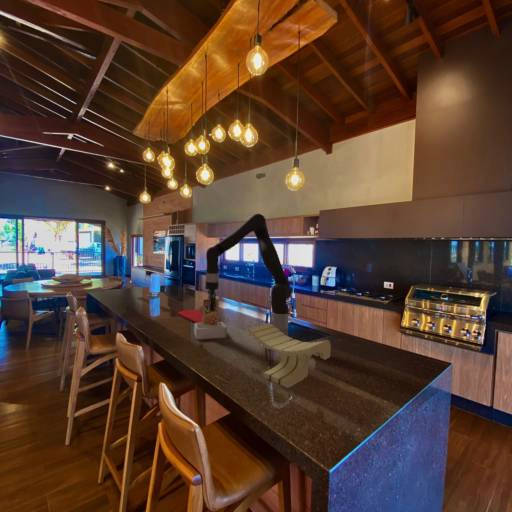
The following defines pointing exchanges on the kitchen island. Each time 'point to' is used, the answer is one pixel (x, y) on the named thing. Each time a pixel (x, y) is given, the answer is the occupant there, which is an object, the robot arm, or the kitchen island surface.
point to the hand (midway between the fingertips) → (210, 309)
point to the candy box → (210, 313)
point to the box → (209, 331)
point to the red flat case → (193, 315)
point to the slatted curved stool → (288, 354)
